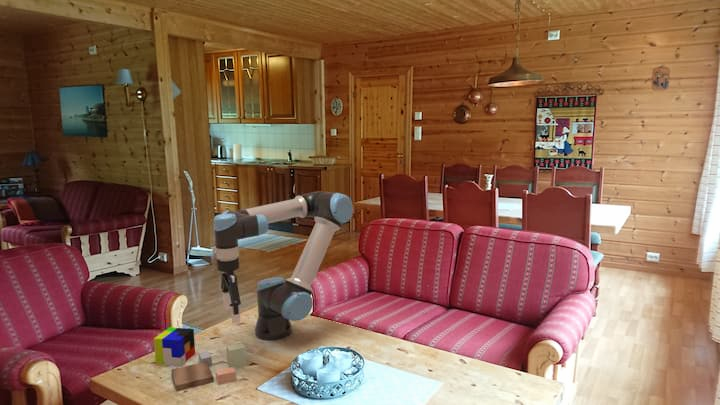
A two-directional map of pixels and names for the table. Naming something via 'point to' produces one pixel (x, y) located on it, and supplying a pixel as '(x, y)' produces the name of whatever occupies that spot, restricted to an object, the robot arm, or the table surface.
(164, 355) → the puzzle toy
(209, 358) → the grey brick
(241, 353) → the sage brick
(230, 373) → the terracotta brick
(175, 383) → the walnut slab
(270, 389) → the table surface
